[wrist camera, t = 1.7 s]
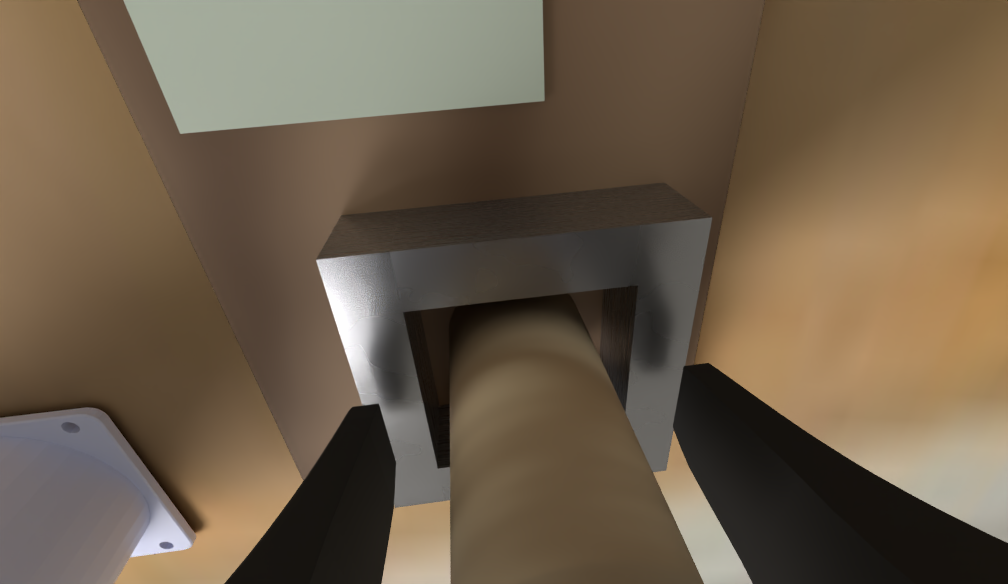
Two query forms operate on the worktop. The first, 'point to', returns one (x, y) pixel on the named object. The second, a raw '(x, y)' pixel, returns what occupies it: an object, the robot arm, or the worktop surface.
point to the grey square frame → (507, 276)
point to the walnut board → (439, 175)
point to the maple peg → (548, 458)
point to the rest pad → (337, 57)
